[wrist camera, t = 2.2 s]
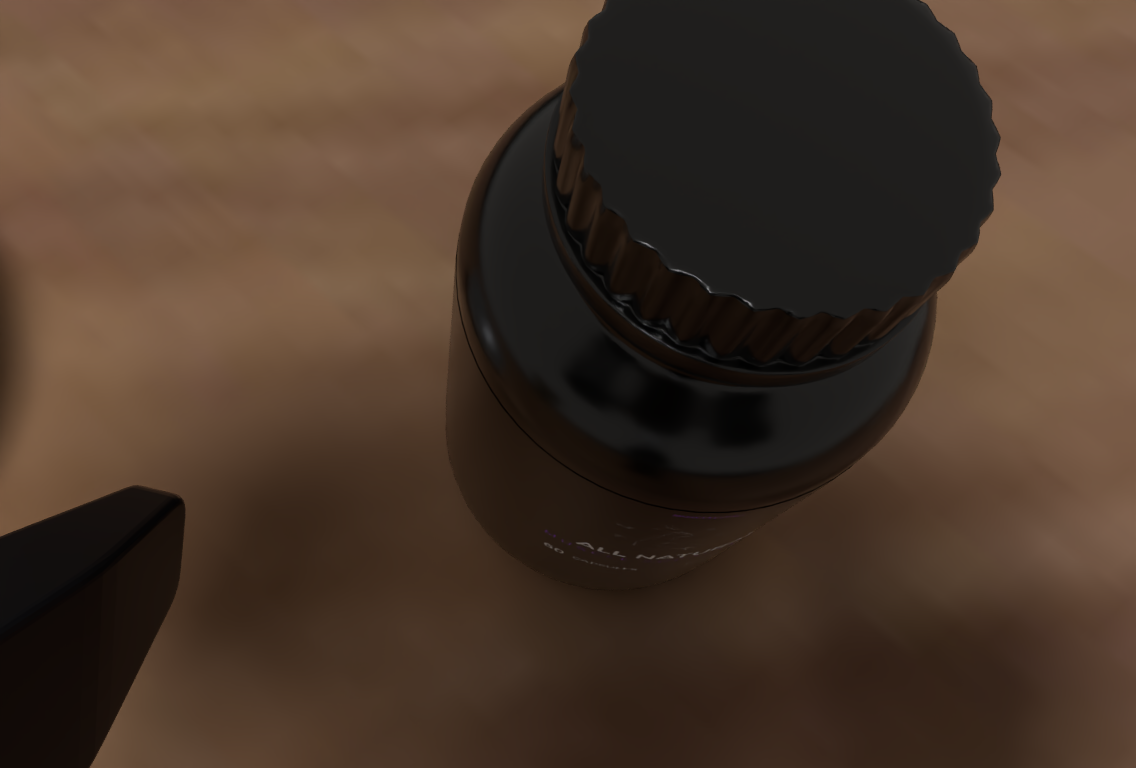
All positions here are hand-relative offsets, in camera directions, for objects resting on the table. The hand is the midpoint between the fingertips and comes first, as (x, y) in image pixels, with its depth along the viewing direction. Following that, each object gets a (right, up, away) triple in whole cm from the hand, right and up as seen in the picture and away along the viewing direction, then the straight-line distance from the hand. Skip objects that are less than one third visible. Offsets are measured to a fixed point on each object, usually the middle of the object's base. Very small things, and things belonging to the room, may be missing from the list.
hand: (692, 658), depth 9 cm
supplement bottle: (0, +1, +13) cm, 13 cm away
